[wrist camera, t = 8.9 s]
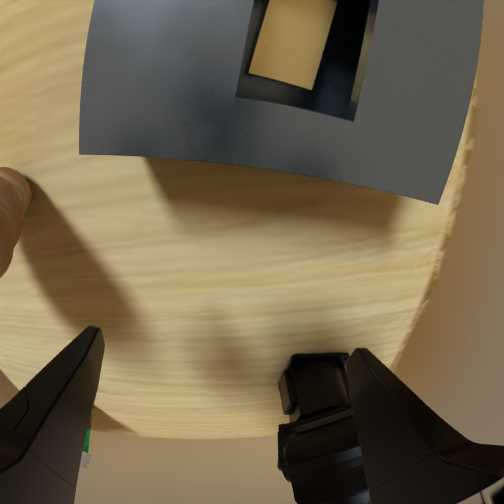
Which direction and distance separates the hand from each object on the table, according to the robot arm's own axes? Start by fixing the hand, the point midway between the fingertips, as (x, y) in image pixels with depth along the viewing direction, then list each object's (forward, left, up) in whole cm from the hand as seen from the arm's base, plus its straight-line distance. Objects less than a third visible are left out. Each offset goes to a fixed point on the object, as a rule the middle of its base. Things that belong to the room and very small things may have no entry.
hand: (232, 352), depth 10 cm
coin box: (-1, -11, -12) cm, 16 cm away
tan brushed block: (-1, -11, -11) cm, 15 cm away
